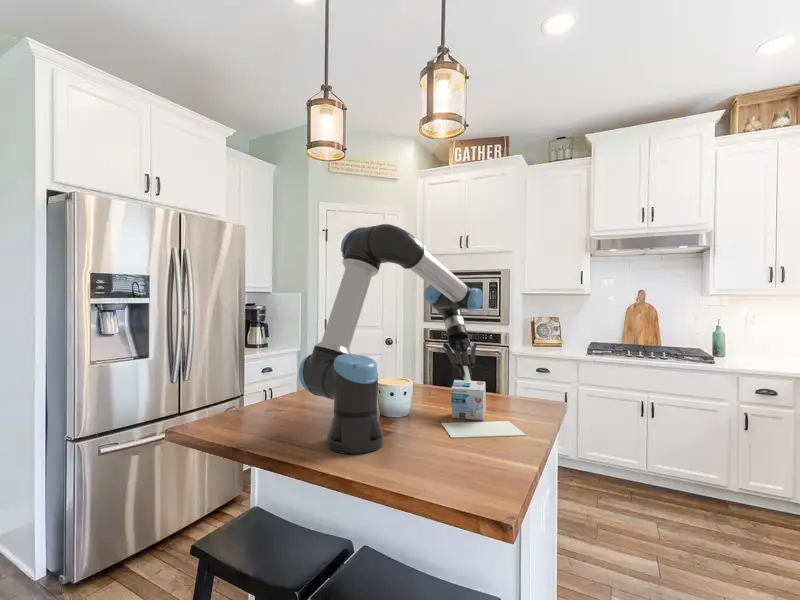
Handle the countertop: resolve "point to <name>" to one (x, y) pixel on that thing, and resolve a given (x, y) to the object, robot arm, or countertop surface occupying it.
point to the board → (482, 429)
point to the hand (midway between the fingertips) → (468, 384)
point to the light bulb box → (468, 399)
